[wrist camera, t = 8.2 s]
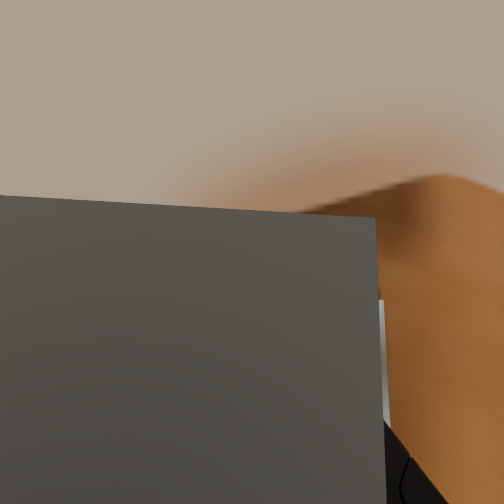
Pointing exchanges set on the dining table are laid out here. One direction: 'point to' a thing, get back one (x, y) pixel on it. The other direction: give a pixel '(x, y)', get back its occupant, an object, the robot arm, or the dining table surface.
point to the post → (188, 355)
